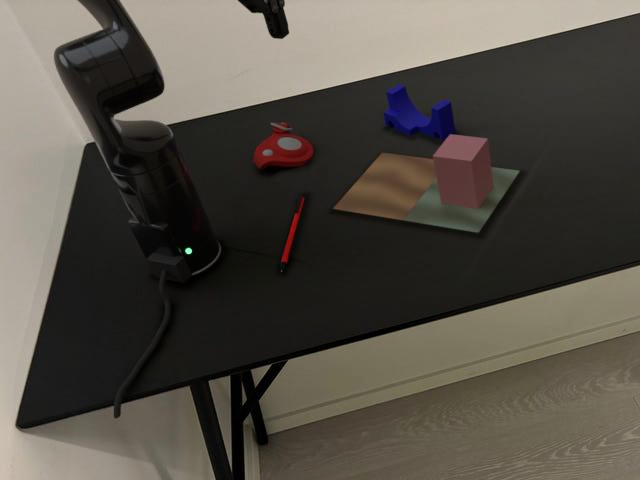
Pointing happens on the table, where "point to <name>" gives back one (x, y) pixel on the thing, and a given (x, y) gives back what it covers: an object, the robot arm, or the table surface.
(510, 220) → the table surface
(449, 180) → the pink block
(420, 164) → the multicoloured piece
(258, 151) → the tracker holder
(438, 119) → the blue curved block
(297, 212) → the pen
